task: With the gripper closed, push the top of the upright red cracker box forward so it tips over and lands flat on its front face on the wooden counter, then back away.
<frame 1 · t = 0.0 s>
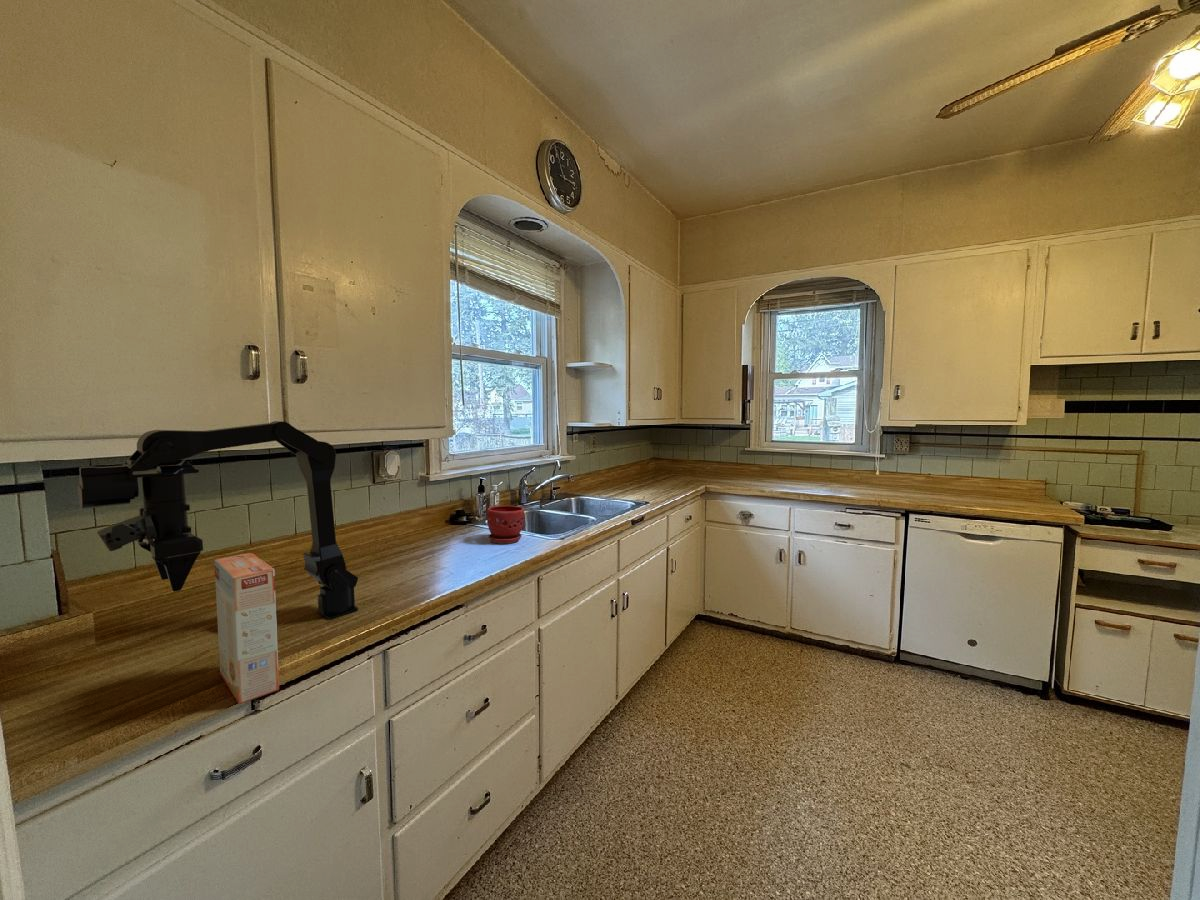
hand: (171, 584, 86), 15 cm above the table, tool pointing down, fingers open, 9 cm apart
cracker box: (249, 682, 81), on the table
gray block: (242, 625, 102), on the table
plant pot: (506, 541, 170), on the table
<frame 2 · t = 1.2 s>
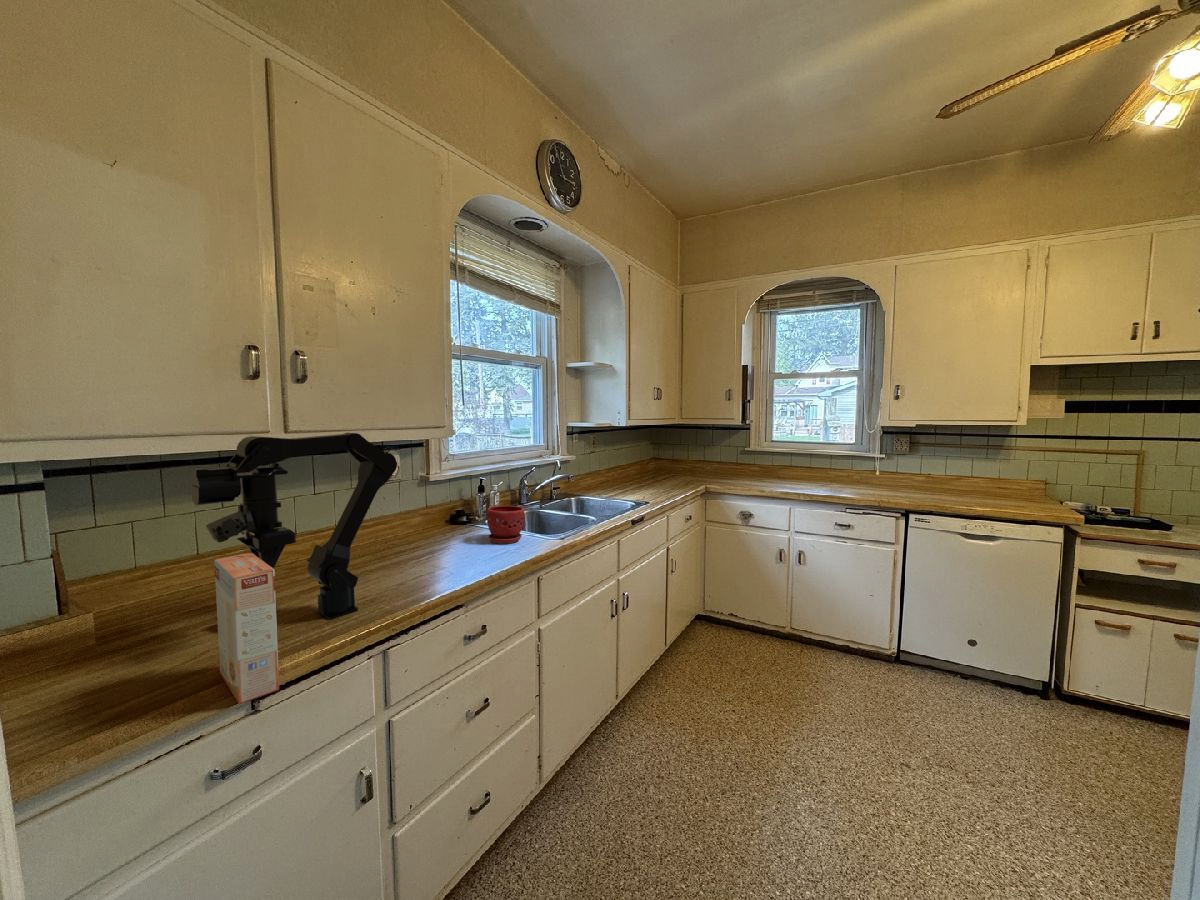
hand: (264, 572, 97), 13 cm above the table, tool pointing down, fingers open, 4 cm apart
nothing on the table moved.
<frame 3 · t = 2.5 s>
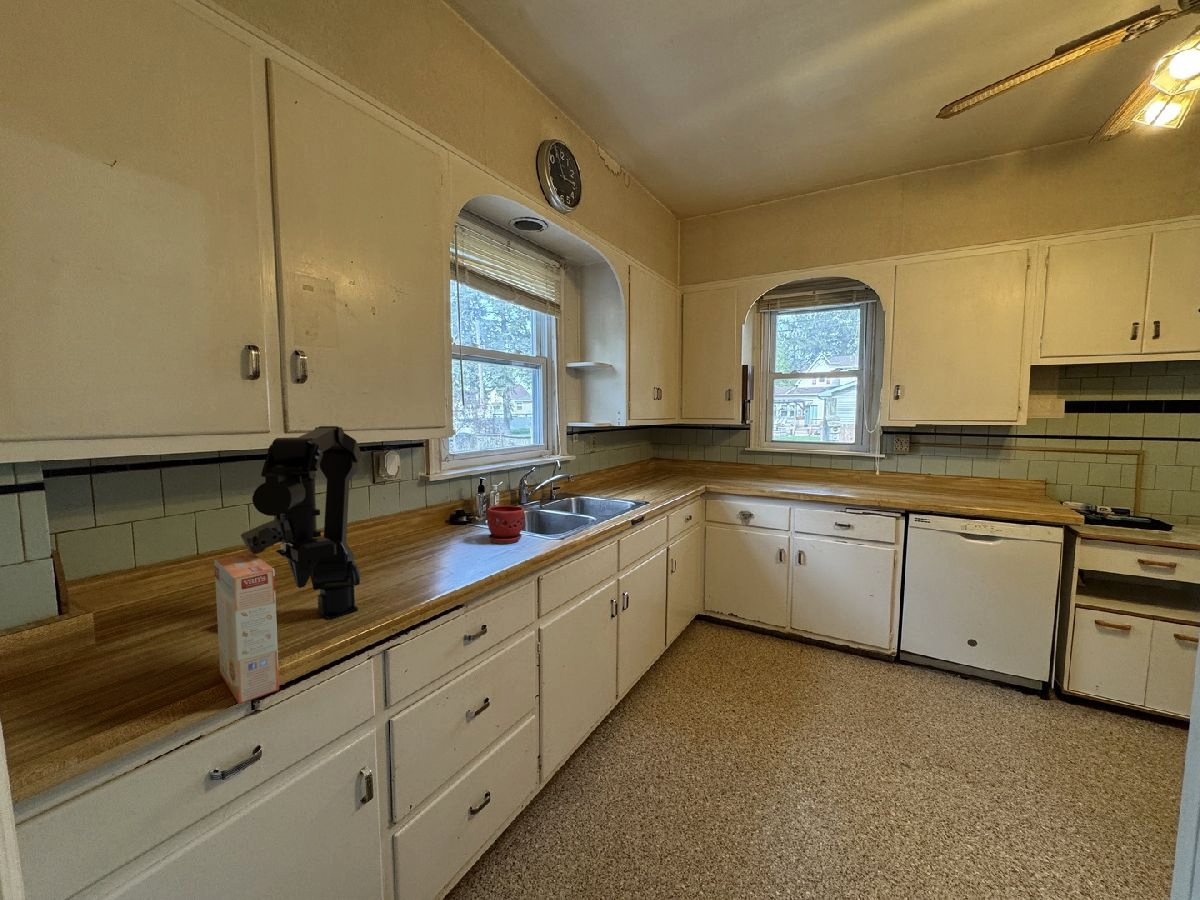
hand: (301, 587, 89), 13 cm above the table, tool pointing down, fingers closed
nothing on the table moved.
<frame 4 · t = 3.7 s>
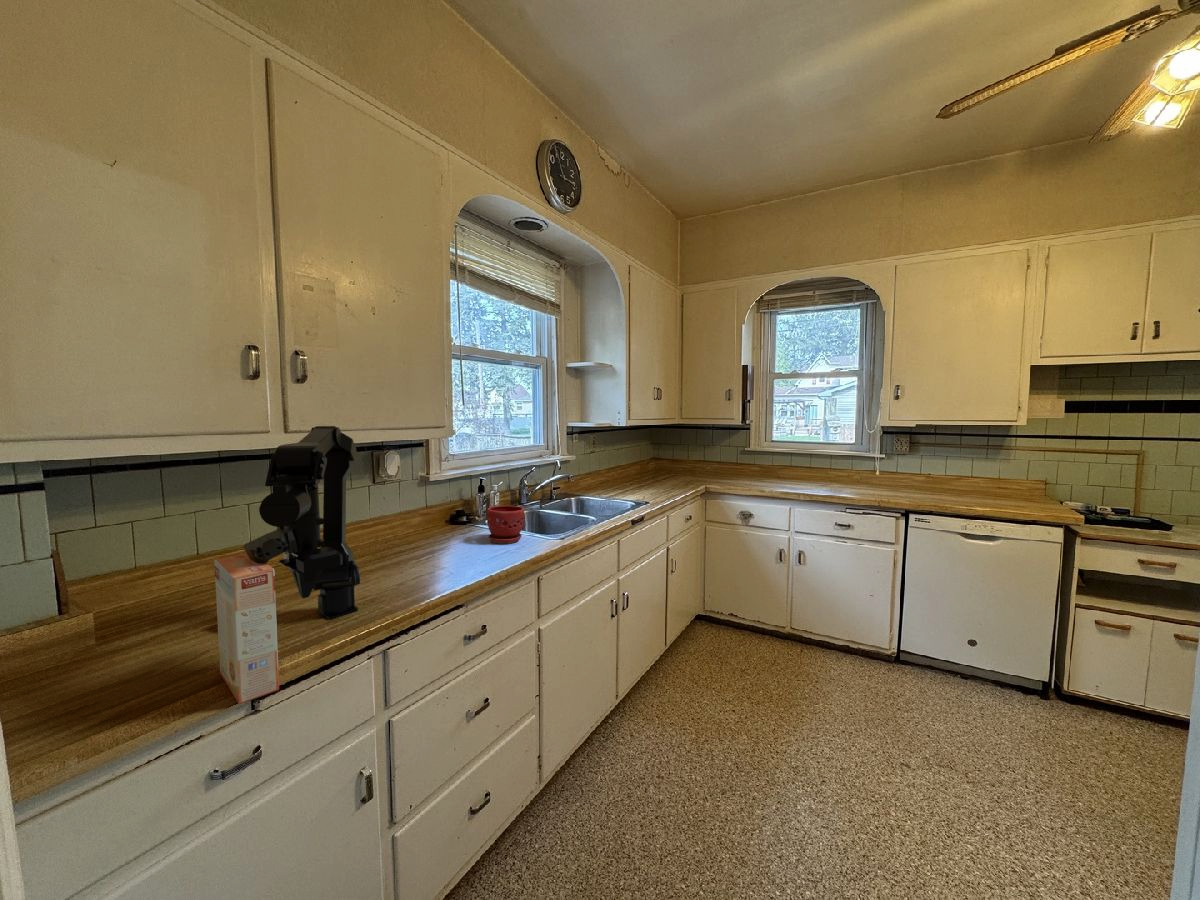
hand: (305, 597, 87), 12 cm above the table, tool pointing down, fingers closed
nothing on the table moved.
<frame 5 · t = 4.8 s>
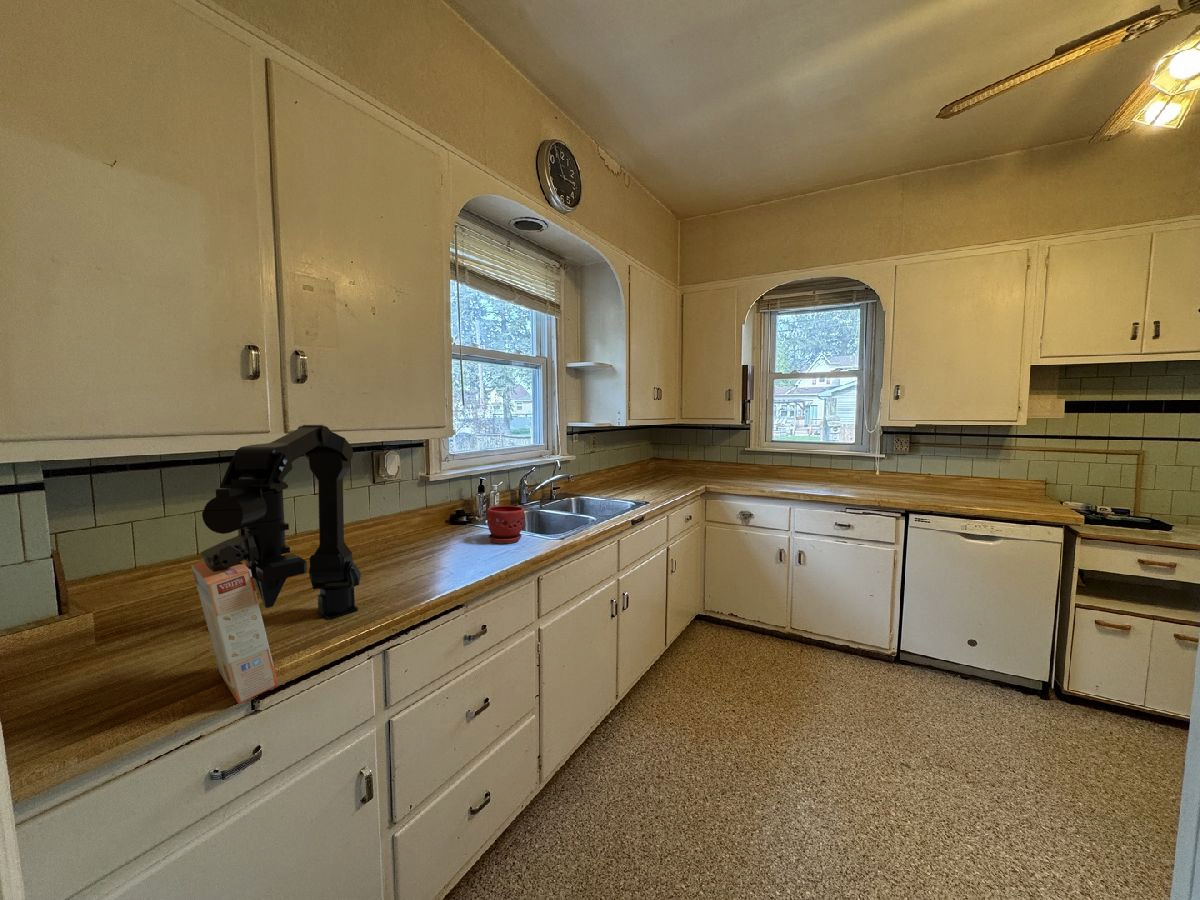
hand: (268, 606, 82), 12 cm above the table, tool pointing down, fingers closed
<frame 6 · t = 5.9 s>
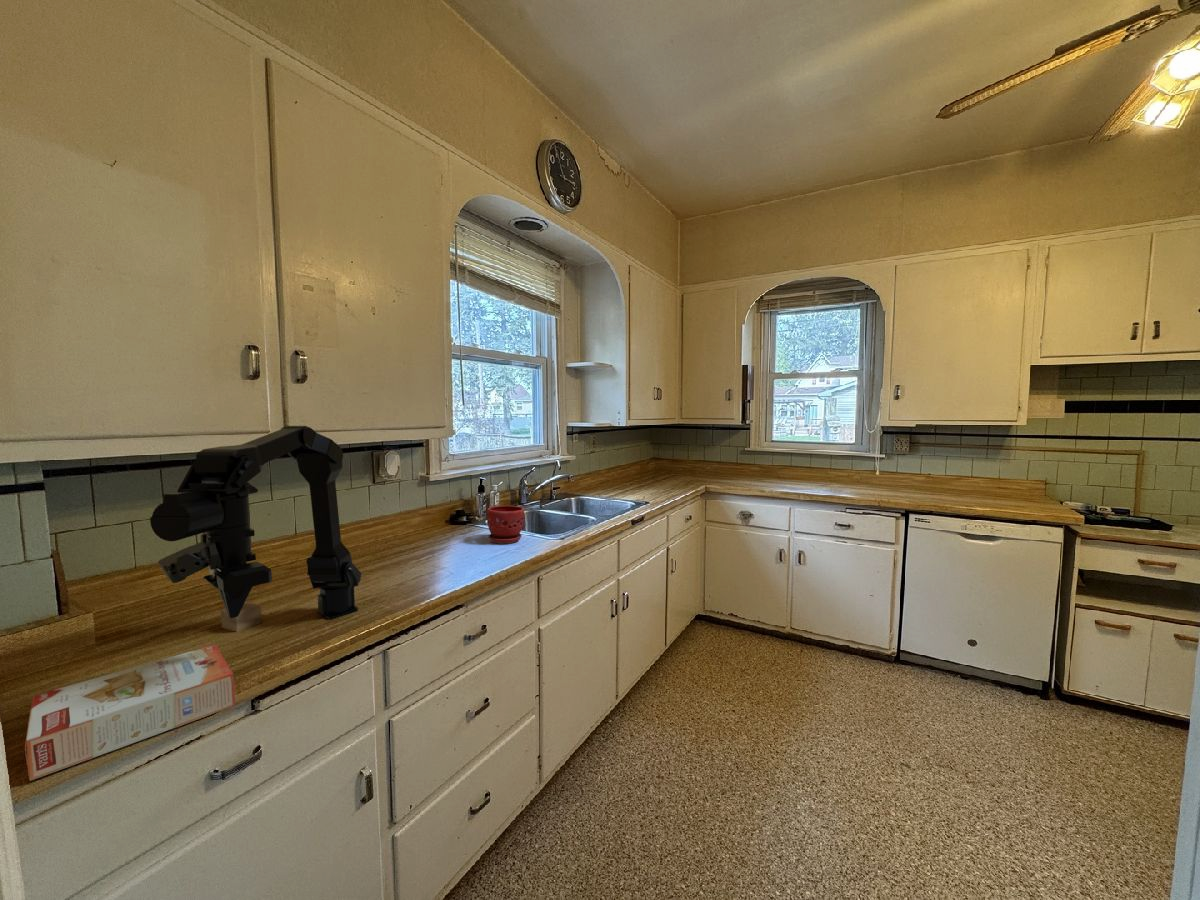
hand: (233, 617, 78), 12 cm above the table, tool pointing down, fingers closed
cracker box: (227, 671, 78), point 3 cm above the table
everything else where it was.
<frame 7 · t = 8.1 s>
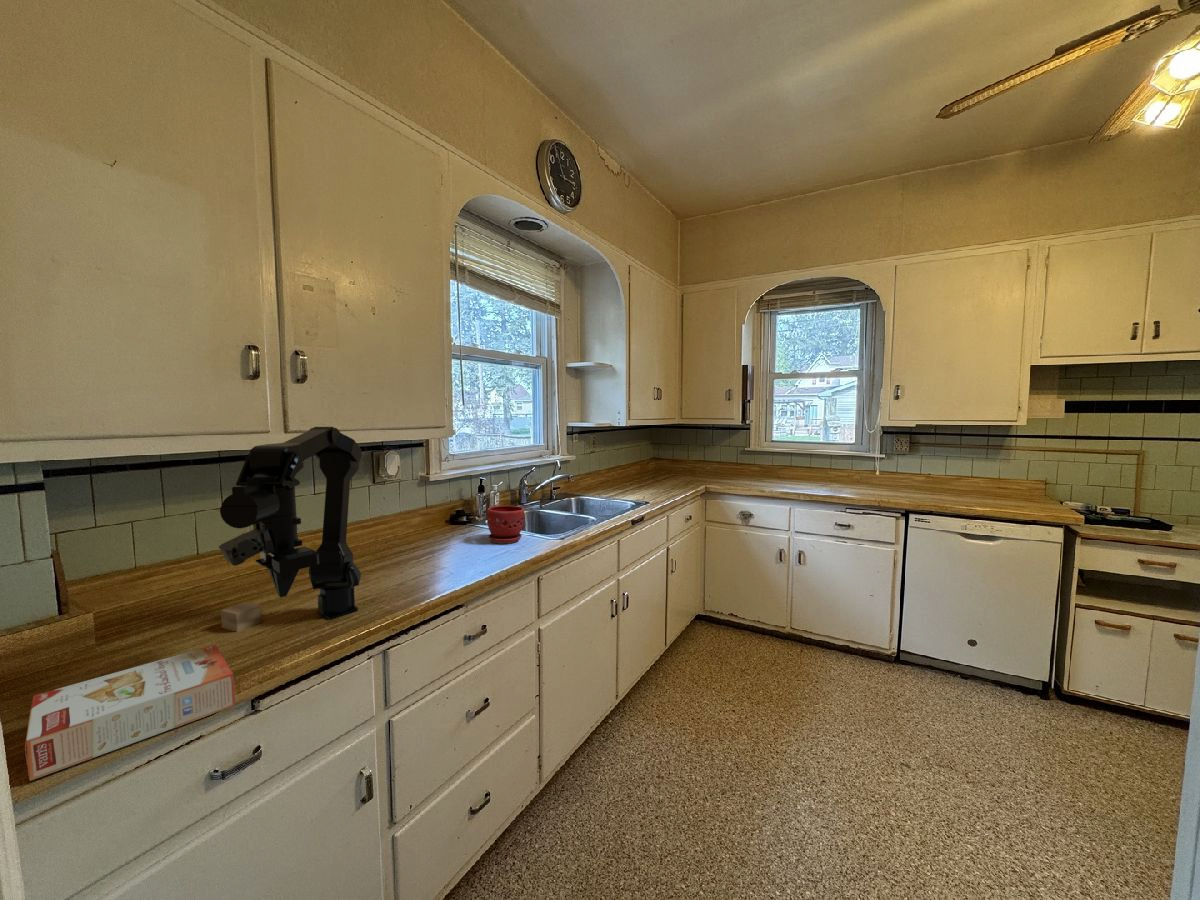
hand: (282, 596, 88), 12 cm above the table, tool pointing down, fingers closed
nothing on the table moved.
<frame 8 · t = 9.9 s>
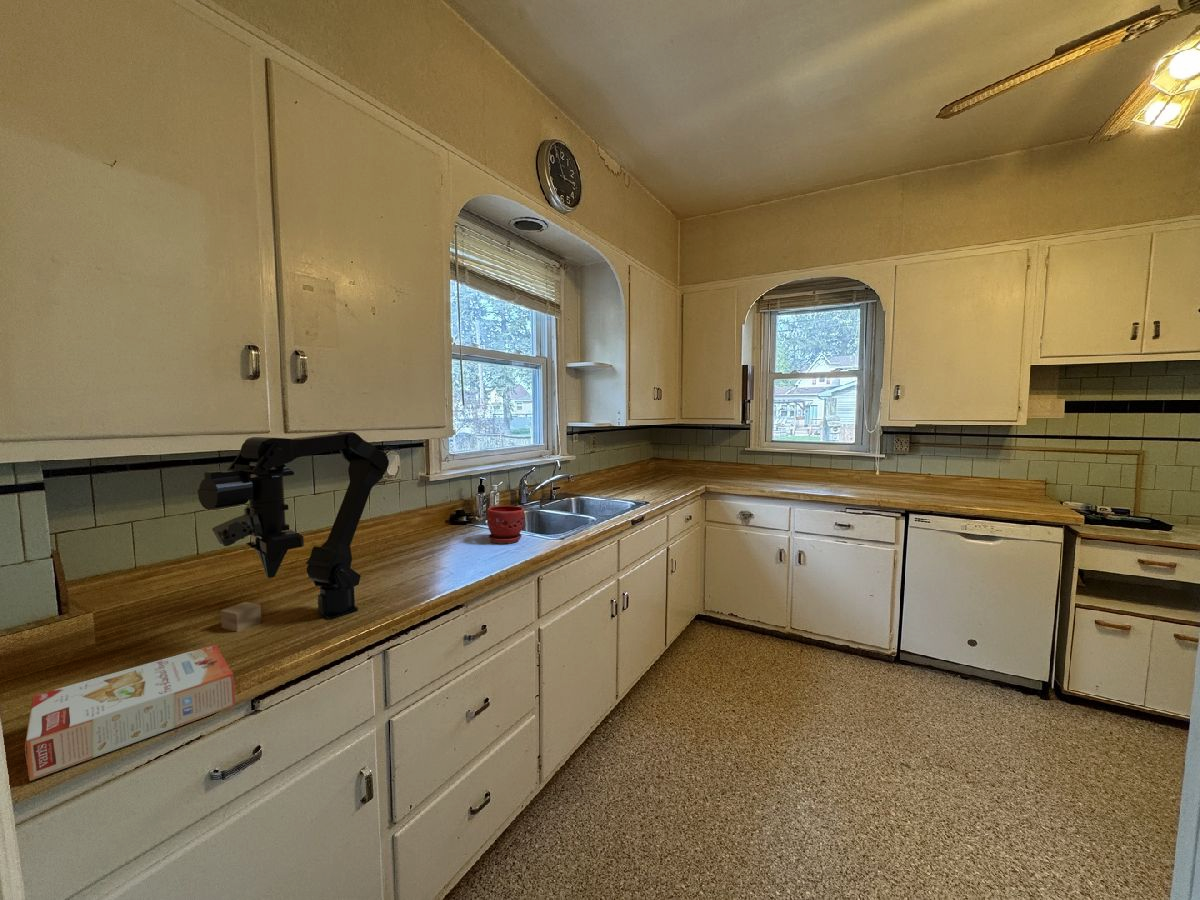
hand: (271, 577, 95), 13 cm above the table, tool pointing down, fingers closed
nothing on the table moved.
at the end: cracker box tilted 91°; cracker box inside the target area (13.1 cm from its centre), point 3.1 cm above the table; the gripper is holding nothing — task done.
